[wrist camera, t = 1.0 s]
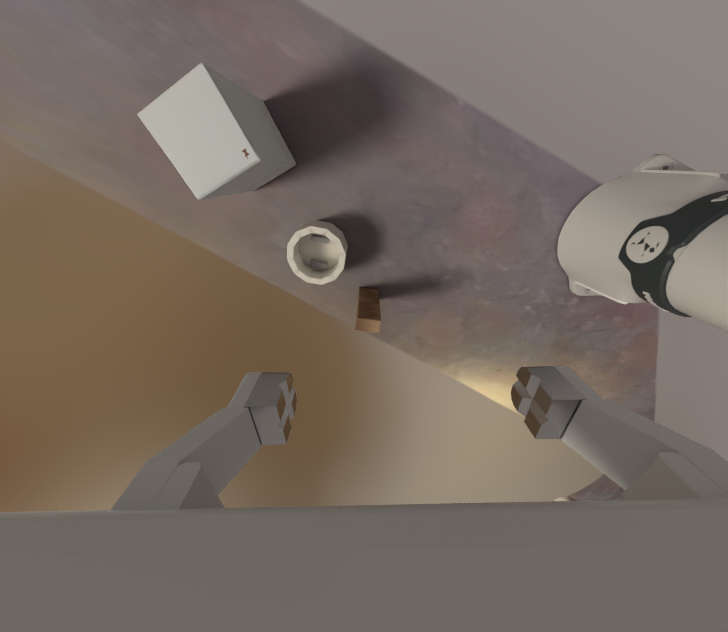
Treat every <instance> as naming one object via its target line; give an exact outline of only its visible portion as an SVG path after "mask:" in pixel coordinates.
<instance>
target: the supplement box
mask: <svg viewBox="0 0 728 632" xmlns="http://www.w3.org/2000/svg"><path fill="white" fill-rule="evenodd" d="M138 116H139V118H140V119H141V120H142V122H143V123H144V125H145V126H146V127H147V129H148V130H149V132H150V133H151V134H152V136H153V137H154V138H155V140H156V141H157V143H158V144H159V145H160V147H161V148H162V149H163V151H164V152H165V154H166V155H167V156H168V158H169V159H170V160H171V162H172V163H173V165H174V166H175V167H176V169H177V170H178V172H179V173H180V175H181V176H182V178H183V179H184V180H185V182H186V183H187V185H188V186H189V188H190V189H191V190H192V192H193V193H194V195H195V196H196V198H197V199H199V200H200V199H208V198H214V197H220V196H226V195H231V194H237V193H243V192H250V191H254V190H256V189H258V188H259V187H261V186H263V185H264V184H266V183H268V182H269V181H271V180H273V179H274V178H276V177H277V176H279V175H281V174H282V173H284V172H286V171H287V170H289V169H290V168H292V167H293V166H295V165H296V162H295V160H294V158H293V156H292V155H291V153H290V151H289V149H288V147H287V145H286V143H285V141H284V139H283V138H282V136H281V134H280V132H279V130H278V128H277V126H276V124H275V122H274V121H273V119H272V117H271V115H270V113H269V111H268V109H267V107H266V106H265V104H264V102H263V101H262V100H260V99H259V98H257V97H256V96H254V95H252V94H251V93H249V92H248V91H246V90H244V89H243V88H241V87H240V86H238V85H237V84H235V83H234V82H232V81H230V80H229V79H227V78H226V77H224V76H222V75H221V74H219V73H218V72H216V71H215V70H213V69H211V68H210V67H208V66H207V65H205V64H203V63H200V64H199V65H198V66H196V67H195V68H194V69H193V70H192V71H190V72H189V73H188V74H186V75H185V76H184V77H183V78H181V79H180V80H179V81H178V82H176V83H175V84H174V85H173V86H171V87H170V88H169V89H168V90H166V91H165V92H164V93H163V94H161V95H160V96H159V97H158V98H156V99H155V100H154V101H153V102H152V103H150V104H149V105H148V106H147V107H145V108H144V109H143V110H142V111H140V112H139V113H138Z"/></svg>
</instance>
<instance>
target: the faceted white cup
mask: <svg viewBox="0 0 728 632" xmlns="http://www.w3.org/2000/svg"><path fill="white" fill-rule="evenodd" d="M347 250H348V244H347V242H346V239H345V237H344V234H343V232H342V231H340V230H339V229H338V228H337V227H336V226H334V225H333V224H332V223H329V222H324V221H318V220H316V221H314V222H311V223H309V224H306V225H304V226H303V227H301V228H300V229H299V230H298V231H296V232H295V234H294V235H293V237H292V238H291V240H290V241H289V243H288V245H287V261H288V262H289V264H290V266H291V268H292V270H293V272H294V274H296V275H297V276H299V277H300V278H301V279H303V280H304V281H306V282H308V283H314V284H320V285H322V284H325V283H328V282H330V281H333V280H335V279H336V278H337V277H338V275H339V274H340V273H341V272H342V270H343V269H344V266H345V262H346V257H347Z"/></svg>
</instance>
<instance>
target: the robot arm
mask: <svg viewBox="0 0 728 632" xmlns="http://www.w3.org/2000/svg"><path fill="white" fill-rule="evenodd" d="M662 168H663V170H661V169H662ZM557 251H558V259H559V262H560V264H561V266H562V268H563V269H564V271H565V272H566V274H567V275H568V277H569V286H570V290H571V292H572V293H574V294H576V295H579V296H587V295H603V296H605V297H607V298H610V299H612V300H614V301H616V302H619V303H622V304H628V303H643V302H649V303H650V304H652V305H653V306H655V307H657V308H659V309H662V310H664V311H668V312H671V313H674V314H677V315H680V316H684V317H694V318H696V319H699V320H701V321H702V322H705V323H707V324H709V325H711V326H714V327H716V328H718V329H720V330H723V331H725V332H727V333H728V175H727V174H720V173H715V172H699V171H695V170H693V169H691V168H689V167H688V166H686V165H684V164H682V163H680V162H678V161H677V160H675V159H673V158H671V157H669V156H667V155H660V154H655V155H652V156H650V157H648V158H647V159H645V160H644V161H643V162H641V163H640V164H639V165H638V166H636V167H635V168H634V169H633V170H632V171H630V172H629V173H627V174H625V175H623V176H621V177H618V178H616V179H613V180H611V181H609V182H607V183H605V184H603V185H601V186H600V187H598V188H597V189H595V190H594V191H592V192H591V193H590V194H589V195H587V196H586V197H585V198H584V199H583V200H582V201H581V202H580V203H579V204H578V205H577V206H576V207H575V209H574V210H573V211H572V213H571V214H570V215H569V217H568V219H567V220H566V222H565V224H564V226H563V228H562V231H561V233H560V236H559V240H558V249H557ZM516 376H517V378H518V381H517V382H516V383H515V384H513V386H512V390H511V398H512V402H513V405H514V407H515V408H516V410H517V411H518V412H519V413H521V414H522V415H524V416H525V420H524V422H525V424H526V425H527V427H528V428H529V430H530V432H531V433H532V435H533V436H534V438H535V439H561V440H562V441H563V442H564V443H565V444H567V445H568V446H569V447H570V448H572V449H573V450H574V451H576V452H577V453H578V454H579V455H581V456H582V457H583V458H585V459H586V460H587V461H588V462H590V463H591V464H592V465H594V466H595V467H596V468H597V469H599V470H600V471H601V472H603V473H604V474H605V475H606V476H608V477H609V478H610V479H612V480H613V481H614V482H615V483H617V484H618V485H619V486H621V487H622V488H623V489H624V490H626V492H625V493H624V494H623V495H622V496H621V497H620V499H619V500H602V501H552V502H504V503H453V504H408V505H407V504H406V505H359V506H358V505H357V506H307V507H259V508H258V507H257V508H225V507H224V506H223V504H222V502H221V500H220V499H219V497H218V494H219V493H220V492H221V491H222V490H223V489H224V488H225V486H226V485H227V484H228V483H229V482H230V481H231V480H232V479H233V477H235V475H236V474H237V473H238V472H239V471H240V470H241V469H242V468H243V466H244V465H245V464H246V463H247V462H248V461H249V460H250V459H251V458H252V457H253V456H254V454H255V453H256V452H257V451H258V450H259V449H260V448H261V445H275V444H287V440H288V437H289V433H290V430H291V423H290V419H292V418H293V417H294V415H295V411H296V404H297V397H296V390H295V389H294V388H293V387H292V384H293V381H294V380H293V376H292V373H290V372H263V373H248V374H246V376H245V377H244V379H243V381H242V382H241V384H240V386H239V388H238V390H237V391H236V393H235V395H234V396H233V398H232V400H231V402H230V403H229V405H228V407H227V408H222V409H221V410H219V411H218V412H216V413H215V414H214V415H212V416H211V417H209V418H208V419H206V420H205V421H203V422H202V423H201V424H199V425H198V426H196V427H195V428H193V429H192V430H191V431H189V432H188V433H187V434H185V435H183V436H182V437H181V438H179V439H178V440H177V441H175V442H174V443H172V444H171V445H169V446H168V447H166V448H165V449H163V450H162V451H161V452H159V453H158V454H156V455H155V456H154V457H152V458H151V459H149V460H148V461H147V462H146V463H145V464H144V465H143V467H142V468H141V469H140V471H139V472H138V473H137V475H136V476H135V477H134V479H133V480H132V482H131V483H130V484H129V486H128V487H127V488H126V490H125V491H124V492H123V494H122V495H121V497H120V498H119V499H118V500H117V502H116V503H115V505H114V506H113V507H112V509H111V510H99V511H53V512H52V511H46V512H0V632H728V462H727V461H726V460H724V459H723V458H722V457H721V456H720V455H719V454H717V453H716V452H715V451H713V450H712V449H710V448H708V447H705V446H703V445H701V444H699V443H697V442H695V441H693V440H691V439H689V438H686V437H685V436H682V435H680V434H679V433H676V432H674V431H672V430H670V429H668V428H666V427H664V426H662V425H660V424H658V423H656V422H654V421H652V420H650V419H648V418H645V417H643V416H641V415H639V414H637V413H635V412H633V411H631V410H629V409H627V408H625V407H623V406H621V405H619V404H616V403H614V402H612V401H610V400H603V399H602V398H601V397H600V396H599V395H598V394H597V393H596V392H595V391H594V390H593V389H592V388H591V387H590V386H589V385H588V384H587V383H586V382H584V381H583V380H582V379H581V378H580V377H579V376H578V375H577V374H576V373H575V372H574V371H573V370H572V369H571V368H569V367H567V366H565V365H561V366H539V367H521V368H520V369H519V370H518V372H517V375H516Z"/></svg>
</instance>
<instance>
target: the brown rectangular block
mask: <svg viewBox="0 0 728 632" xmlns="http://www.w3.org/2000/svg"><path fill="white" fill-rule="evenodd" d="M380 324H381V314H380V302H379V290H376V289H370V288H363V287H360V289H359V295H358V304H357V316H356V328H355V330H360V331H366V332H373V333H379V328H380Z"/></svg>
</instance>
